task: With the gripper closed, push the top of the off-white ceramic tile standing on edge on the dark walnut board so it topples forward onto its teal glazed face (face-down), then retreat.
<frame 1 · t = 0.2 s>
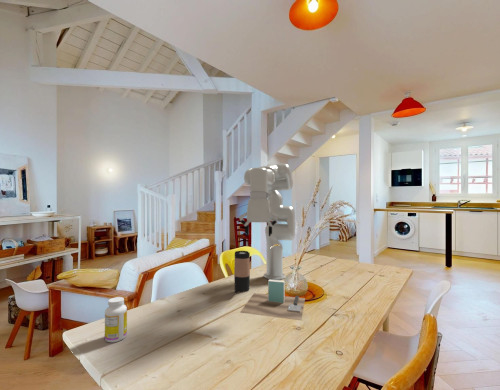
hand: (258, 235, 114), 31 cm above the table, fingers open, 9 cm apart
tile: (276, 301, 115), point 1 cm above the table, touching board
board: (274, 308, 112), on the table
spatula: (295, 304, 112), point 1 cm above the table, touching board
travel mug: (241, 292, 130), on the table
supplement bottle: (115, 338, 88), on the table
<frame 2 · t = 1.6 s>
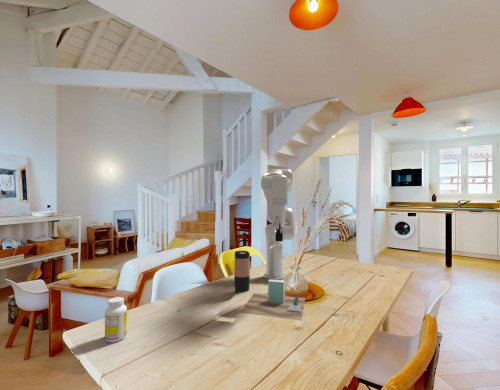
hand: (279, 241, 122), 27 cm above the table, fingers closed
nothing on the table moved.
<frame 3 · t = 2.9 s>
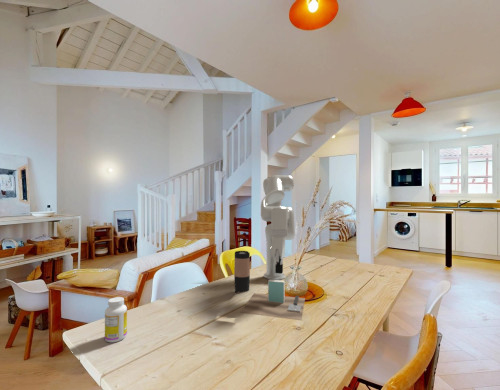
hand: (279, 272, 122), 12 cm above the table, fingers closed
nothing on the table moved.
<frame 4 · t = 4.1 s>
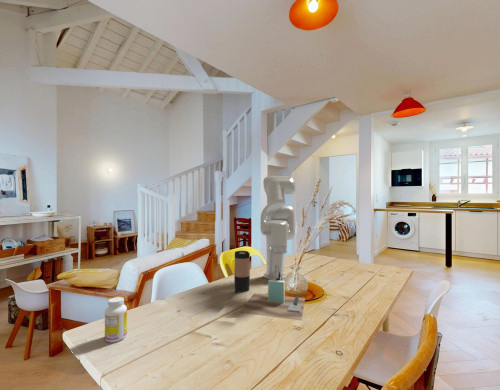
hand: (278, 288, 122), 5 cm above the table, fingers closed
nothing on the table moved.
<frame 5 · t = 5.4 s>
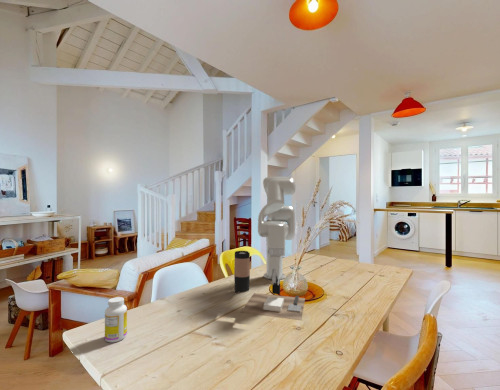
hand: (276, 293, 115), 5 cm above the table, fingers closed
tile: (275, 299, 114), point 3 cm above the table, tilted 90°, touching board
everything else where it was.
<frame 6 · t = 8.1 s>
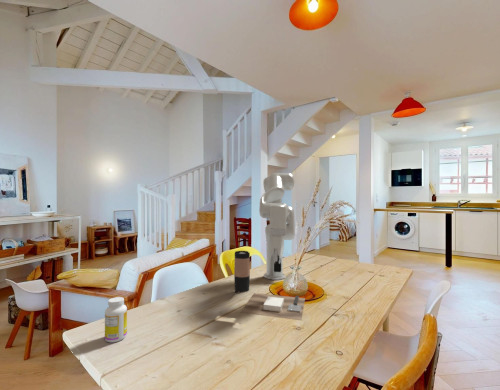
hand: (277, 271, 120), 13 cm above the table, fingers closed
nothing on the table moved.
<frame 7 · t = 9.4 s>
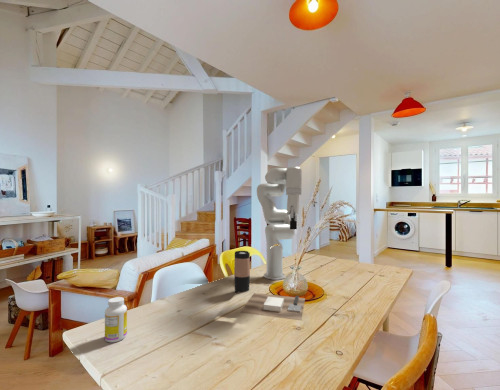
hand: (293, 229, 129), 32 cm above the table, fingers closed
nothing on the table moved.
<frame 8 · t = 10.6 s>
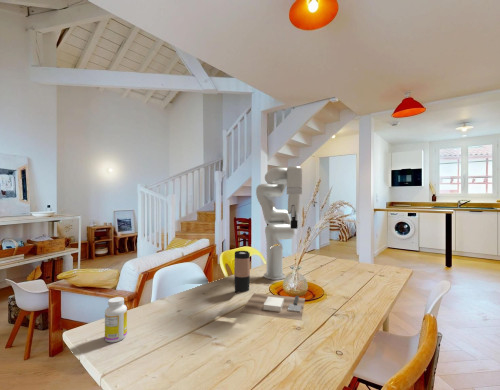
hand: (294, 228, 130), 32 cm above the table, fingers closed
nothing on the table moved.
at the end: tile tilted 90°; tile inside the target area on the board (3.9 cm from its centre), point 2.6 cm above the board's base; tile touching board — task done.
